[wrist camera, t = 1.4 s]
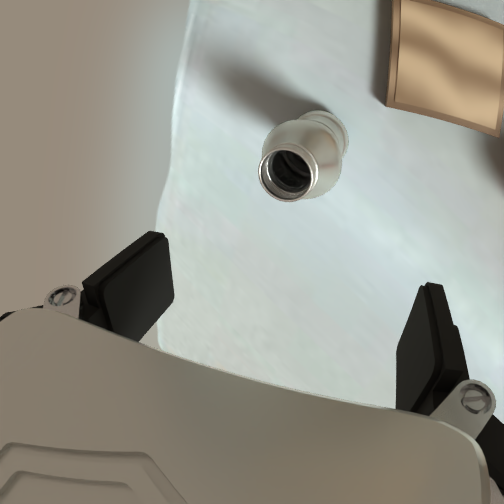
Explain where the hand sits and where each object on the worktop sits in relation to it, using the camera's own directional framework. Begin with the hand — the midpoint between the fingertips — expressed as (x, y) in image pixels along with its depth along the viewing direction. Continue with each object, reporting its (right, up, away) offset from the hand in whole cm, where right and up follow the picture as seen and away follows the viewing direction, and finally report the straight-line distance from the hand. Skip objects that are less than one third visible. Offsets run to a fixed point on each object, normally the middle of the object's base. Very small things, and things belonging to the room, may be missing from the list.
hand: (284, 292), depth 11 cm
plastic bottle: (+7, +15, +26) cm, 31 cm away
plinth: (+21, +23, +16) cm, 35 cm away
